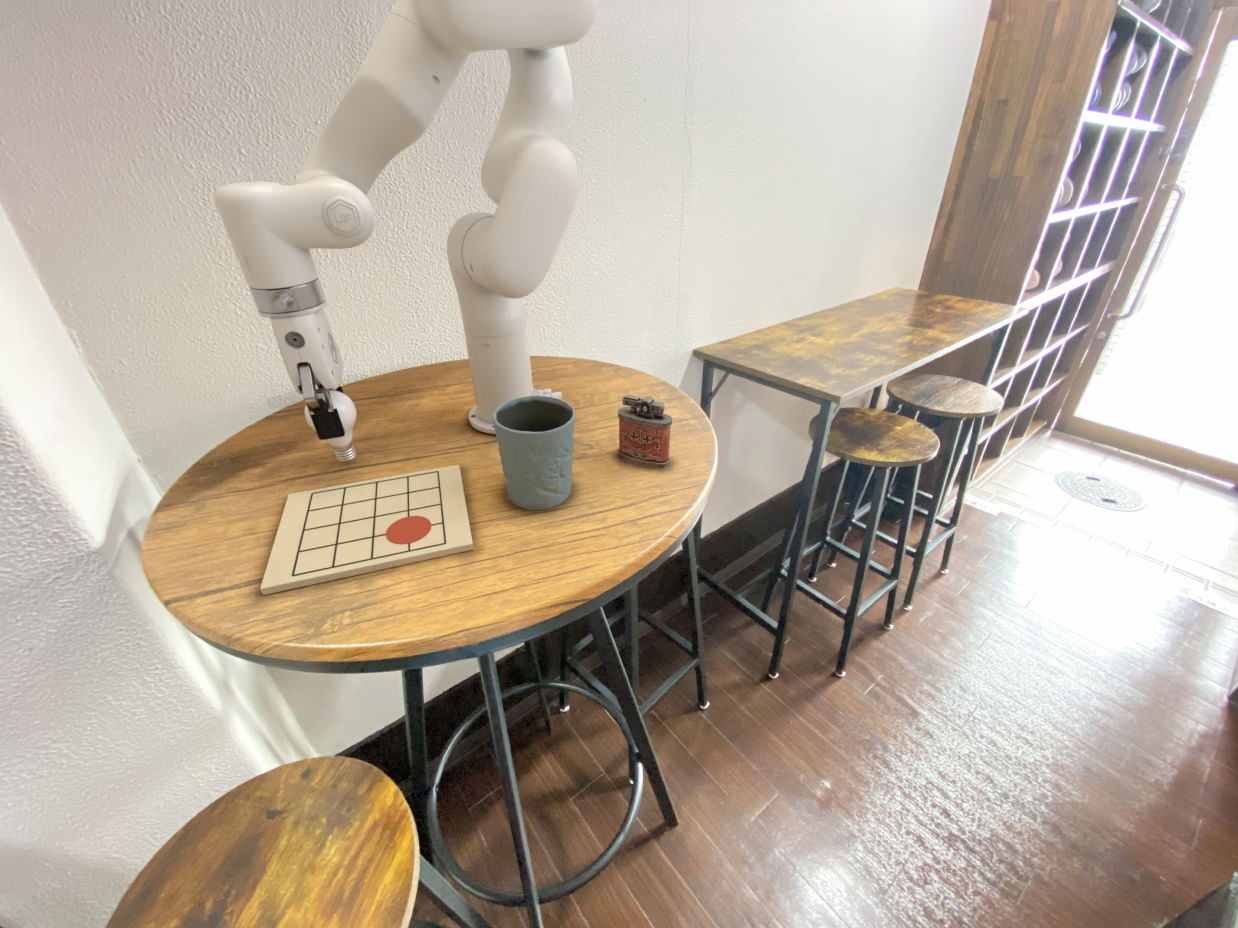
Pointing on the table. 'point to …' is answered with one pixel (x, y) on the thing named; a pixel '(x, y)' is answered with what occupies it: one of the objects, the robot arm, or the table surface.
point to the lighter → (644, 432)
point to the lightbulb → (348, 417)
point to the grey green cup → (536, 450)
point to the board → (368, 528)
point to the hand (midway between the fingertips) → (335, 424)
